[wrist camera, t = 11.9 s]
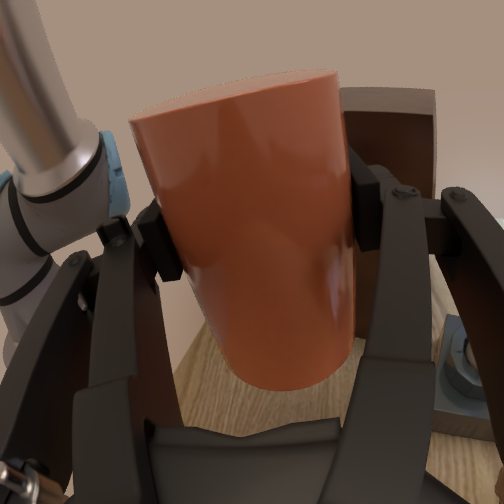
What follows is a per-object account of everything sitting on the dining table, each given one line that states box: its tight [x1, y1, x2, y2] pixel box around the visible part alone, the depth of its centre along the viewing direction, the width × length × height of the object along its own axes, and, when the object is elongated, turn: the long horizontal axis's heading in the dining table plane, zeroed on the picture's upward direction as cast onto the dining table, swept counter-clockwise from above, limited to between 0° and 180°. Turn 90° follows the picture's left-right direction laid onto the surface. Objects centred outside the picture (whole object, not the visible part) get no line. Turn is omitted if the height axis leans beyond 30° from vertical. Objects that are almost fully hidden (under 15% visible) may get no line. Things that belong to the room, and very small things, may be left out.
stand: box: [340, 87, 437, 339], centre depth 29 cm, size 16×12×22 cm
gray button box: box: [431, 314, 495, 442], centre depth 19 cm, size 12×10×6 cm
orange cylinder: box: [128, 69, 356, 391], centre depth 13 cm, size 7×7×12 cm
